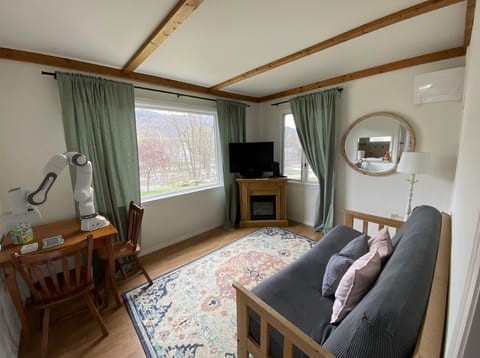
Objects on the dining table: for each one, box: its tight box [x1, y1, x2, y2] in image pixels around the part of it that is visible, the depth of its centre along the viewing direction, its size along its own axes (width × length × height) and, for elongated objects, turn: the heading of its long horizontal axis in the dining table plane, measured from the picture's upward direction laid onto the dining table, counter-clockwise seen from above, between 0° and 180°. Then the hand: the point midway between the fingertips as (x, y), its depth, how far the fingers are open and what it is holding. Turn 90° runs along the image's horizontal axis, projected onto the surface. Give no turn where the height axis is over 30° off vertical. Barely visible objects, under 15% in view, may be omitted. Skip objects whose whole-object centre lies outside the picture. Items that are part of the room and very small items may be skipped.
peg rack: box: [42, 237, 65, 250], centre depth 163 cm, size 12×8×5 cm, turn 127°
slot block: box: [20, 242, 39, 255], centre depth 156 cm, size 8×8×3 cm
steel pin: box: [19, 222, 28, 232], centre depth 152 cm, size 3×3×8 cm
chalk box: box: [9, 223, 35, 245], centre depth 168 cm, size 9×9×15 cm
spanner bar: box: [42, 234, 63, 245], centre depth 163 cm, size 11×4×4 cm, turn 127°
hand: (24, 227), depth 153 cm, fingers closed on steel pin, 3 cm apart
